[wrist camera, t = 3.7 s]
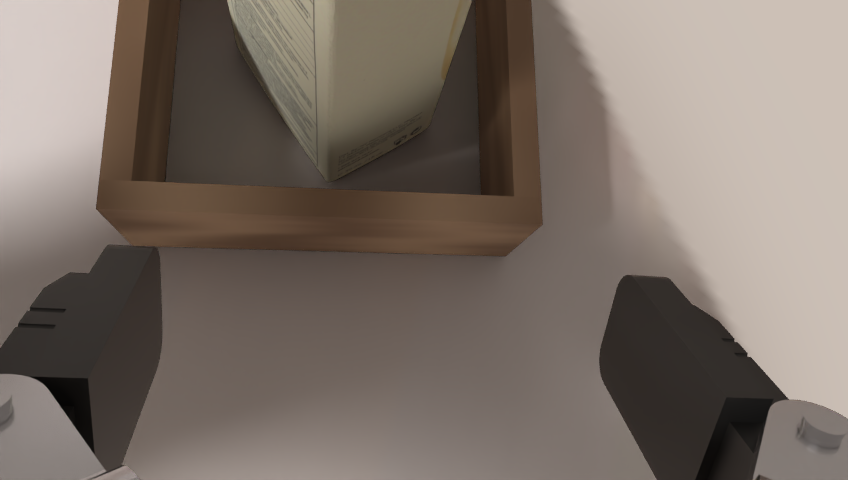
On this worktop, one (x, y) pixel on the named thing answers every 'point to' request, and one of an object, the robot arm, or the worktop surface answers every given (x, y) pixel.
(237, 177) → the worktop surface
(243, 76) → the worktop surface
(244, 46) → the skincare box
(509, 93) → the walnut box
